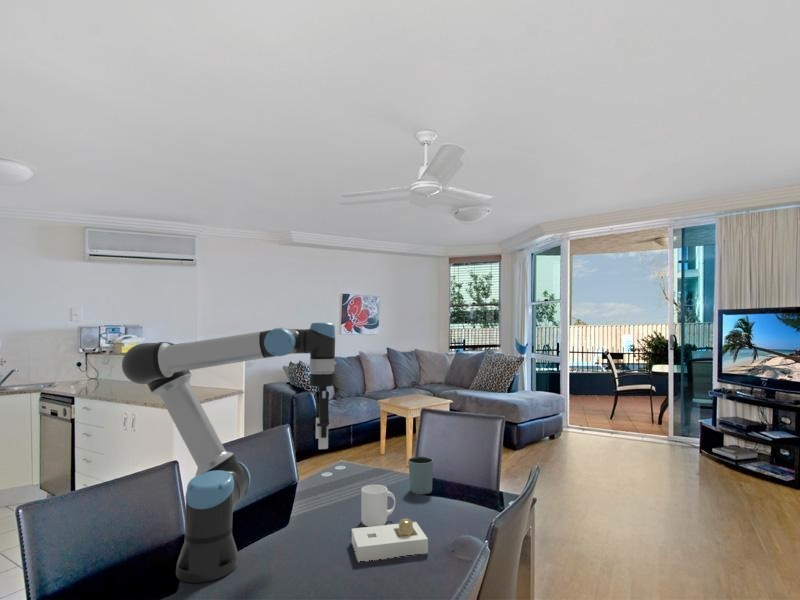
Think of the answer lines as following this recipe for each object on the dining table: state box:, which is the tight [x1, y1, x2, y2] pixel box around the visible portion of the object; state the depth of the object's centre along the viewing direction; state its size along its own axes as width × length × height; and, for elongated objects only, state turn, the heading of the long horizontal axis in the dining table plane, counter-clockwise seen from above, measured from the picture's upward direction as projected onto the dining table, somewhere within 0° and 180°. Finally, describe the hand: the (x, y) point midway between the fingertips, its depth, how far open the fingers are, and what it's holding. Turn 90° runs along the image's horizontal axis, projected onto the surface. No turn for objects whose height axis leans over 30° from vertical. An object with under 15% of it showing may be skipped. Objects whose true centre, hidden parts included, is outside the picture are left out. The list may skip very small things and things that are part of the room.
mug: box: [360, 484, 396, 527], centre depth 148 cm, size 9×12×11 cm
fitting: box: [398, 518, 414, 537], centre depth 130 cm, size 4×4×7 cm
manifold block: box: [351, 521, 429, 563], centre depth 129 cm, size 20×12×4 cm, turn 104°
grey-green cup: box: [407, 456, 434, 495], centre depth 177 cm, size 10×10×12 cm
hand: (321, 443), depth 135 cm, fingers open, 13 cm apart
